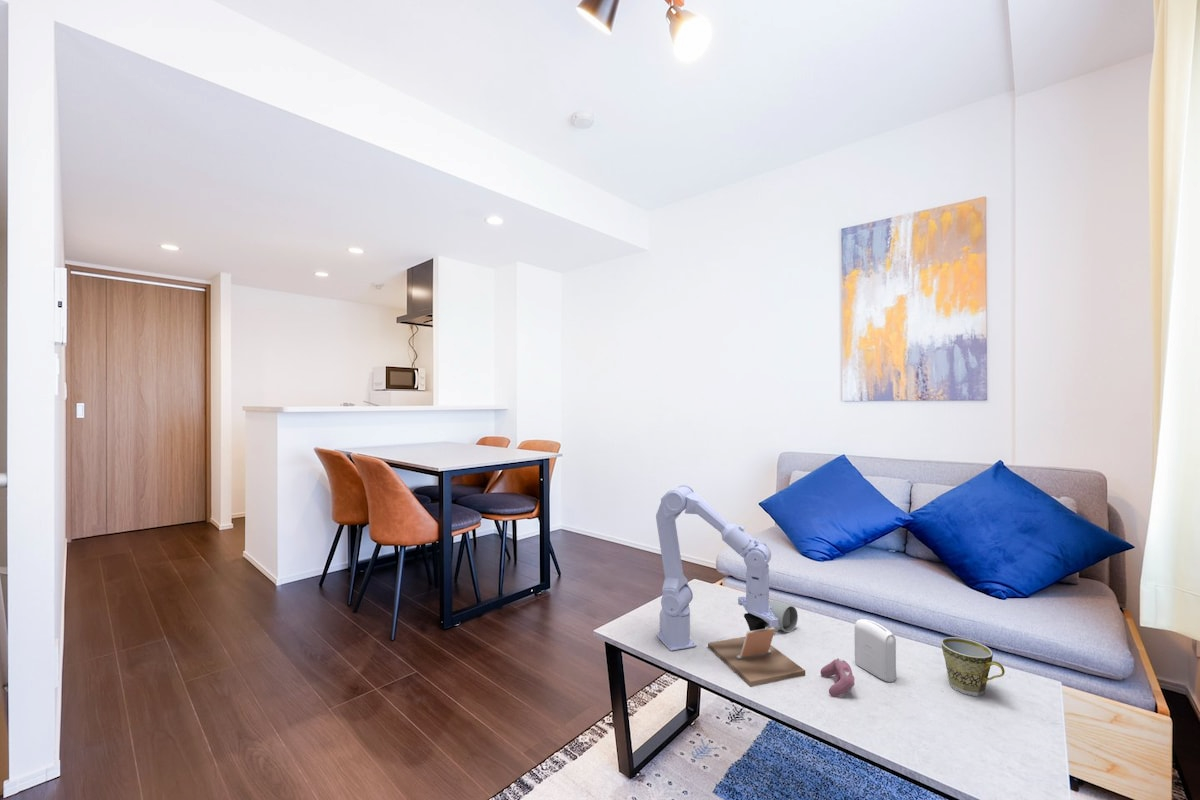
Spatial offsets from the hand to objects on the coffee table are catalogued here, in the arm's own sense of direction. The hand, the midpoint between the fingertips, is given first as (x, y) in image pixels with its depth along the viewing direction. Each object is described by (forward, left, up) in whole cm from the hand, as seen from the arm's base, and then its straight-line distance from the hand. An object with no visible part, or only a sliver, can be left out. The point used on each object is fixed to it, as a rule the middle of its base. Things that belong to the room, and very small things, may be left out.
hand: (756, 642), depth 132 cm
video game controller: (+15, +12, -6) cm, 20 cm away
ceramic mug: (-15, +18, -6) cm, 24 cm away
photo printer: (+13, +26, -6) cm, 30 cm away
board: (-1, 0, -5) cm, 5 cm away
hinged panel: (0, 0, 0) cm, 0 cm away
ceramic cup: (+27, +41, -6) cm, 49 cm away
